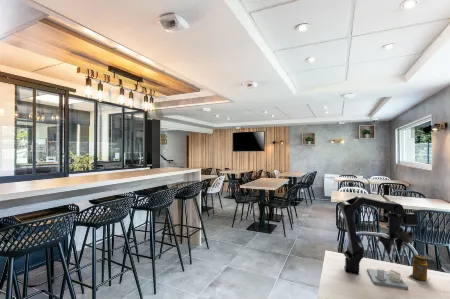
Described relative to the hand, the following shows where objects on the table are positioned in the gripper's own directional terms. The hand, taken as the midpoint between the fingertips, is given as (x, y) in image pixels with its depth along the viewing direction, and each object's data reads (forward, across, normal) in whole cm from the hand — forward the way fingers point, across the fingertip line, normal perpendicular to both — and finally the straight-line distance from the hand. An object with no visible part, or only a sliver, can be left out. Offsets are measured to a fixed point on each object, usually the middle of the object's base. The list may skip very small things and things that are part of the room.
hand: (393, 252), depth 130 cm
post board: (+12, -9, -2) cm, 15 cm away
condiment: (+13, +8, -8) cm, 17 cm away
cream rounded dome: (+11, -6, -4) cm, 13 cm away
